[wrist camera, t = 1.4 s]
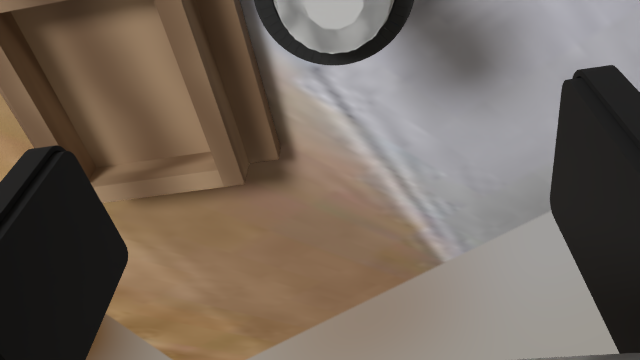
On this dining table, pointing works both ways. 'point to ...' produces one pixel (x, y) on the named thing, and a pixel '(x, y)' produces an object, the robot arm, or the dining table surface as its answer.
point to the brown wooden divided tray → (138, 91)
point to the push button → (333, 27)
